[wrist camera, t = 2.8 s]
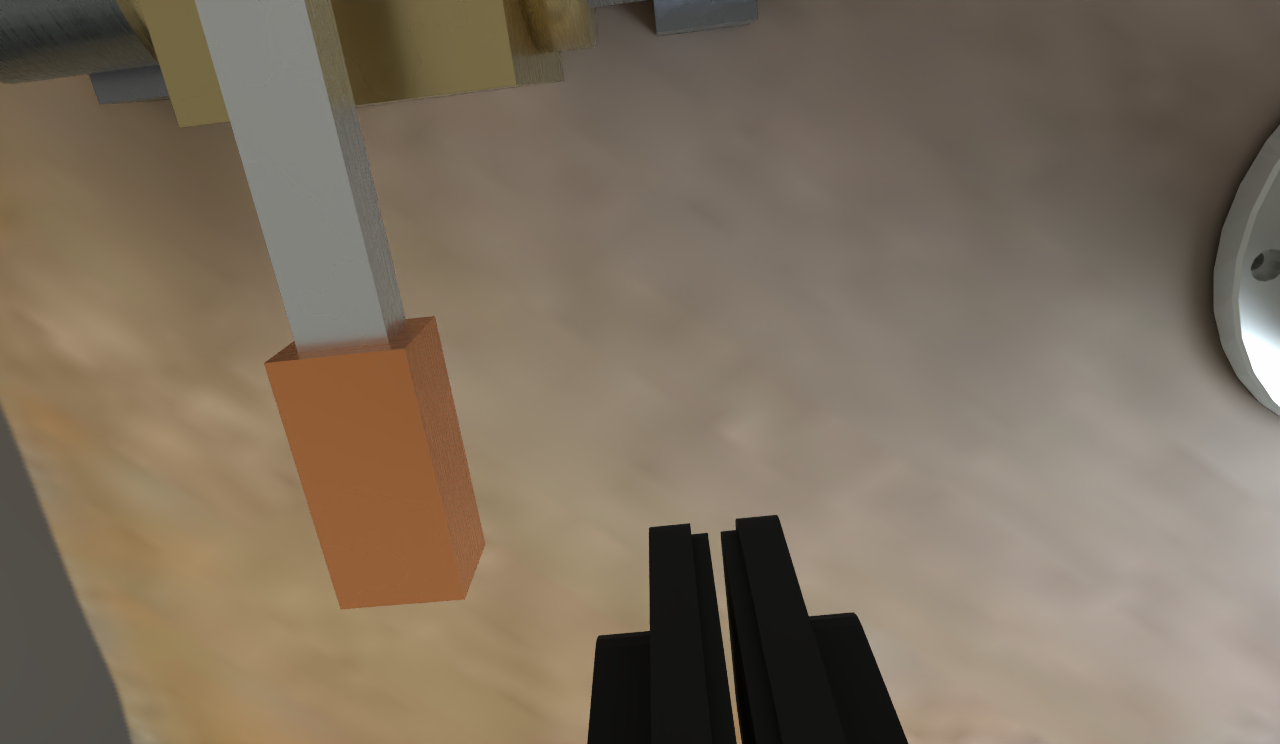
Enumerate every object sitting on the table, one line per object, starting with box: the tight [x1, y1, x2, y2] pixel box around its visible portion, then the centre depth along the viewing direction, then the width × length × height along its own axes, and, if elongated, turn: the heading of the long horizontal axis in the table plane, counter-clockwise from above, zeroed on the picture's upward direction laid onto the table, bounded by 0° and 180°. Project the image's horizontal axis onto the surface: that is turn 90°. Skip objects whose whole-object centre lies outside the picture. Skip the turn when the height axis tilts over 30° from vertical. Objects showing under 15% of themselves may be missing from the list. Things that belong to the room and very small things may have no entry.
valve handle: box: [195, 0, 485, 609], centre depth 13 cm, size 13×3×2 cm, turn 7°
